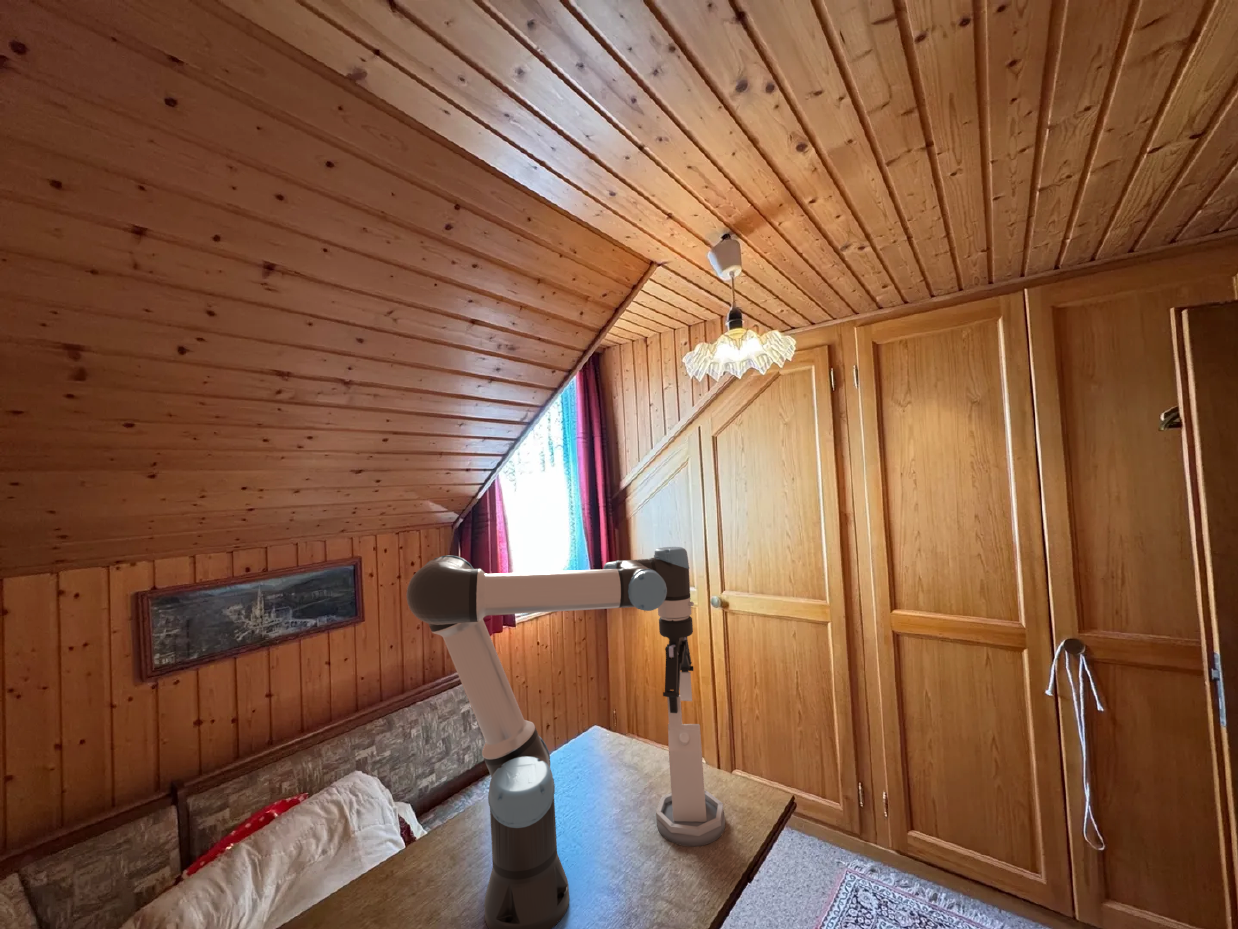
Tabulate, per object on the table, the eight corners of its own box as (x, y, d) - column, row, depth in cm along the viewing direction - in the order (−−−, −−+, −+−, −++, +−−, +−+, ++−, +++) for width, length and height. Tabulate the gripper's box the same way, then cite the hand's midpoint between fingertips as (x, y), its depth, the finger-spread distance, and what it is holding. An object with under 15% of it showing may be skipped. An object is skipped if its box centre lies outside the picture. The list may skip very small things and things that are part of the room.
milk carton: (673, 802, 117) (668, 717, 118) (705, 802, 116) (699, 717, 117) (673, 822, 110) (667, 732, 111) (706, 822, 109) (700, 732, 110)
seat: (682, 856, 103) (681, 840, 103) (643, 817, 116) (643, 802, 116) (739, 828, 110) (738, 813, 110) (697, 794, 123) (696, 780, 123)
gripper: (682, 632, 102) (689, 741, 101) (699, 604, 126) (705, 691, 125) (645, 631, 104) (652, 738, 103) (669, 603, 128) (675, 690, 127)
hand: (681, 713), depth 114 cm, fingers open, 13 cm apart
